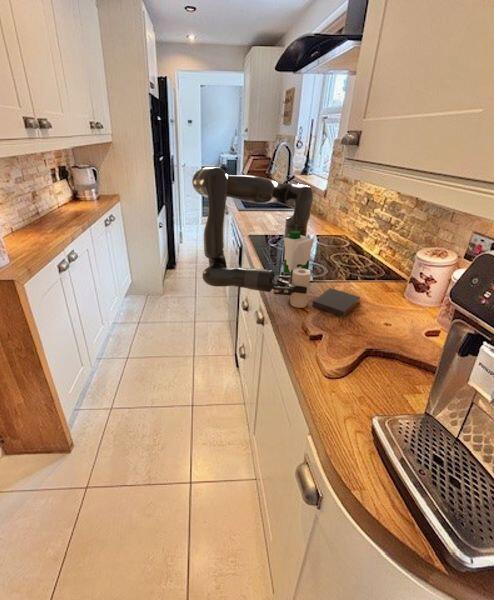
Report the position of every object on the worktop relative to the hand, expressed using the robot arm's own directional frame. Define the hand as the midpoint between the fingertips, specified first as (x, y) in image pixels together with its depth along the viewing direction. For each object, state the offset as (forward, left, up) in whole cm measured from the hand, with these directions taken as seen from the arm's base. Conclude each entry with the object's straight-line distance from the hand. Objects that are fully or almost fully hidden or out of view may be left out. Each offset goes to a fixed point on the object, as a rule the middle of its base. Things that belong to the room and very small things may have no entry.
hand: (307, 286), depth 108 cm
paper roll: (+1, -2, -7) cm, 7 cm away
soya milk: (-12, -12, -7) cm, 19 cm away
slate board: (-7, +8, -7) cm, 13 cm away
